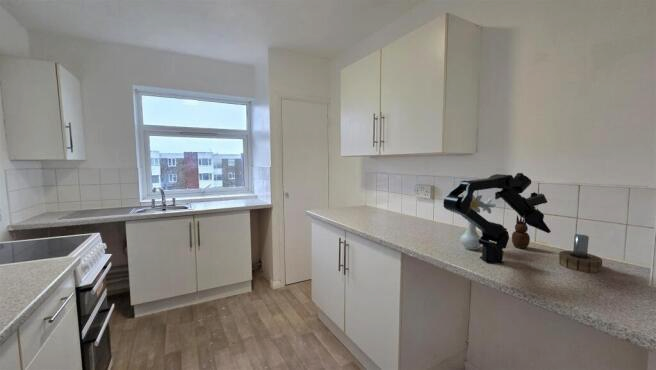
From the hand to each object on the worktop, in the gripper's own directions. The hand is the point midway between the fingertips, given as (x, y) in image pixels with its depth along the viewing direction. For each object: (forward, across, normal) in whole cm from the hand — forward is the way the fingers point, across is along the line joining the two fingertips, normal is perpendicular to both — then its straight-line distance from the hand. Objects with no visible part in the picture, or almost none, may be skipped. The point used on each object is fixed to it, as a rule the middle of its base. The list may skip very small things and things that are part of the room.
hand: (546, 229), depth 110 cm
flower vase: (-8, +10, +28) cm, 31 cm away
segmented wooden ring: (+18, +1, +2) cm, 18 cm away
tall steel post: (+18, +1, +2) cm, 18 cm away
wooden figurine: (+6, +18, +14) cm, 23 cm away
